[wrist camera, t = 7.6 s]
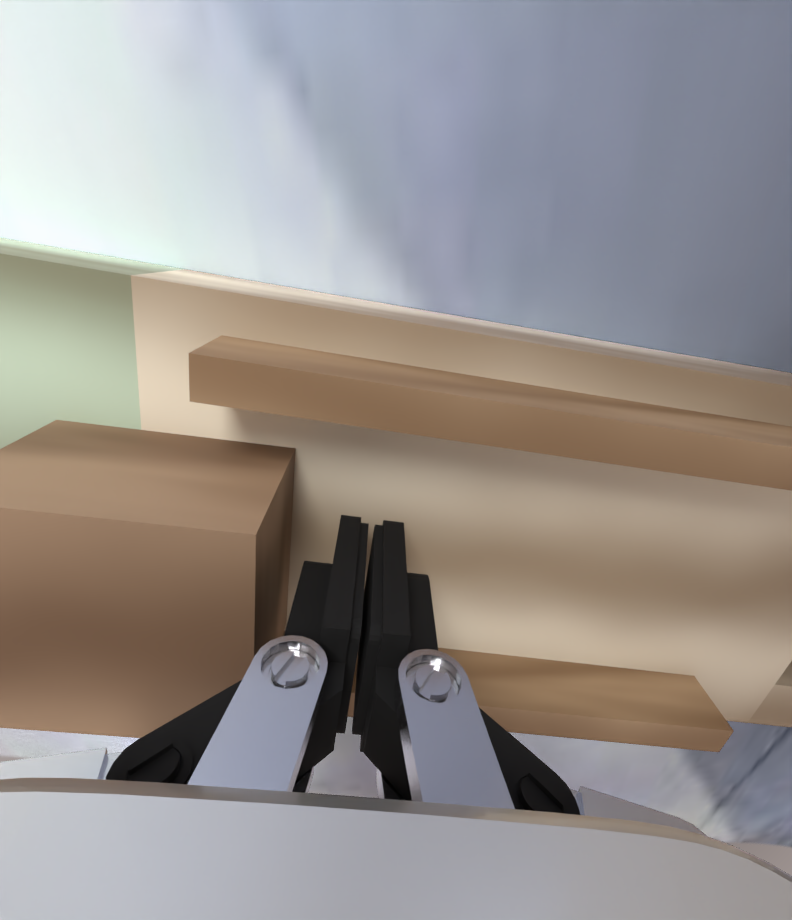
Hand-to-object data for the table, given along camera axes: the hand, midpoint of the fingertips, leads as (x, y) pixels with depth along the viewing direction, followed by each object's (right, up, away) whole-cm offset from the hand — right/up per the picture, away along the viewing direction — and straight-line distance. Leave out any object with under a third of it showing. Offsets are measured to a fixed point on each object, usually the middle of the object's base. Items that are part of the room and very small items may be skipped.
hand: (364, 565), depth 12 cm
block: (-5, +1, +1) cm, 5 cm away
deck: (+6, +1, +4) cm, 7 cm away
